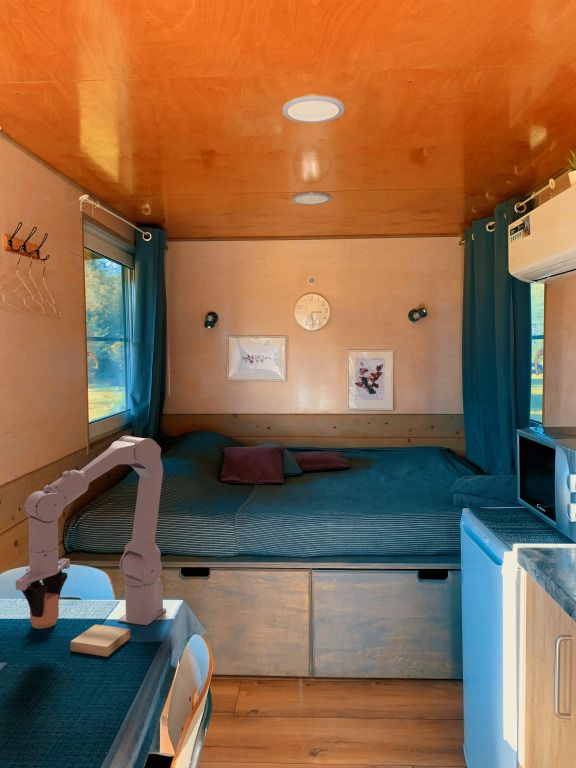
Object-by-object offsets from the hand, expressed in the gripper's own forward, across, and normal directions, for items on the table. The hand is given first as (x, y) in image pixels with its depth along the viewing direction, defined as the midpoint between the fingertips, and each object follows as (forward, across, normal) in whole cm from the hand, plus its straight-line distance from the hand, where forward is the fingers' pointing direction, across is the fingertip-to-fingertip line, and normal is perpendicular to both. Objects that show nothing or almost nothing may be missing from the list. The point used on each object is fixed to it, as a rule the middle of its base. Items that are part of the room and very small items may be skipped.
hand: (44, 611), depth 128 cm
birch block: (+9, -7, +9) cm, 15 cm away
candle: (+9, -12, -10) cm, 18 cm away
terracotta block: (+2, 0, 0) cm, 2 cm away
